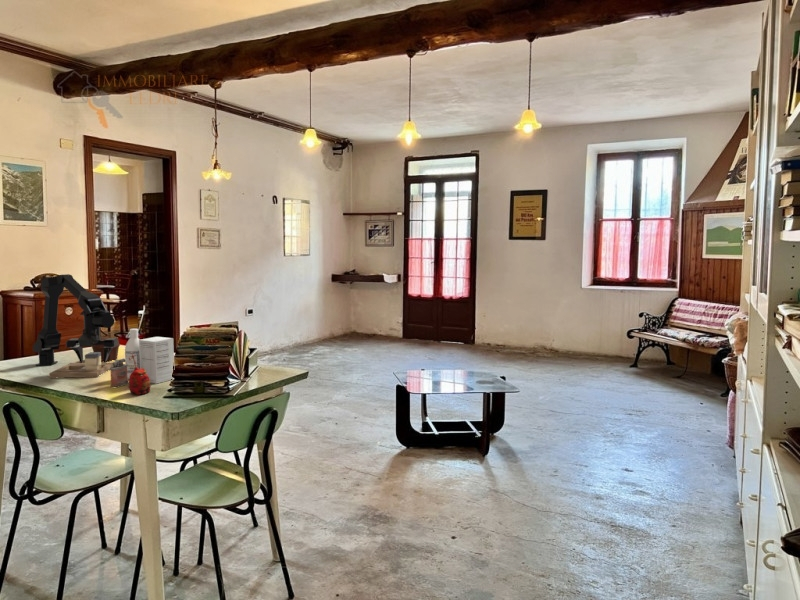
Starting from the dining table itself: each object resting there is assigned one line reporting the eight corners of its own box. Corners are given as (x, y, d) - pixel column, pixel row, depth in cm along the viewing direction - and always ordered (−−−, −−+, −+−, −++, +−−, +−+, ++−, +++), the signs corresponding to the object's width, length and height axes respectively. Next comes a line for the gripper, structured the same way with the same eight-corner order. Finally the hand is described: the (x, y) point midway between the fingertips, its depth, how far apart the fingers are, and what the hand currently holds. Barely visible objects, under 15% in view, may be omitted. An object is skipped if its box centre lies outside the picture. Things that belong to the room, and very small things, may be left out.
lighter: (116, 388, 206) (115, 362, 205) (108, 387, 207) (107, 361, 206) (130, 382, 214) (129, 357, 213) (123, 382, 214) (122, 357, 213)
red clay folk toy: (141, 396, 196) (140, 355, 194) (124, 395, 197) (122, 354, 195) (154, 390, 203) (153, 351, 202) (137, 389, 204) (136, 350, 203)
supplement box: (175, 379, 221) (174, 338, 219) (156, 384, 213) (155, 341, 211) (158, 376, 225) (157, 335, 223) (139, 381, 217) (138, 339, 215)
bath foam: (144, 378, 221) (143, 329, 219) (125, 380, 218) (124, 330, 216) (144, 374, 227) (143, 327, 225) (126, 376, 224) (124, 328, 222)
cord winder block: (91, 370, 233) (90, 352, 232) (101, 370, 233) (100, 352, 233) (85, 374, 227) (84, 355, 226) (95, 373, 227) (95, 354, 227)
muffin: (88, 362, 247) (87, 341, 246) (96, 357, 258) (95, 336, 257) (117, 361, 250) (116, 340, 249) (123, 356, 261) (122, 336, 260)
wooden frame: (70, 367, 238) (70, 362, 237) (114, 366, 240) (114, 362, 240) (49, 378, 219) (49, 373, 219) (97, 377, 222) (97, 372, 221)
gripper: (58, 329, 219) (60, 367, 220) (108, 329, 222) (109, 366, 223) (71, 325, 230) (72, 361, 231) (118, 324, 233) (119, 360, 234)
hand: (93, 362), depth 230 cm, fingers open, 9 cm apart
